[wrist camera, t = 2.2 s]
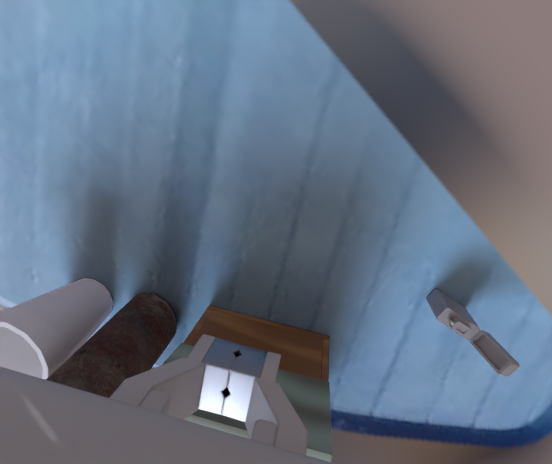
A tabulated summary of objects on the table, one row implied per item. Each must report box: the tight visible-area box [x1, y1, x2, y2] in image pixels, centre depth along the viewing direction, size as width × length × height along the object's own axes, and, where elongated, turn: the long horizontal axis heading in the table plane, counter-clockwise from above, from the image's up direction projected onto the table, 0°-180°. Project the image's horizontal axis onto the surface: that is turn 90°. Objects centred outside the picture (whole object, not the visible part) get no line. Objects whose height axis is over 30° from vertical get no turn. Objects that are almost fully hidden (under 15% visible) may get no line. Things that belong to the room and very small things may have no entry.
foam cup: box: [0, 278, 113, 380], centre depth 41 cm, size 10×9×13 cm
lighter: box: [426, 289, 519, 376], centre depth 36 cm, size 7×2×8 cm, turn 58°
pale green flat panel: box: [162, 343, 332, 462], centre depth 31 cm, size 10×16×1 cm
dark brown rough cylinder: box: [46, 293, 177, 398], centre depth 37 cm, size 8×7×20 cm
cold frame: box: [184, 305, 330, 382], centre depth 41 cm, size 9×16×8 cm, turn 79°
